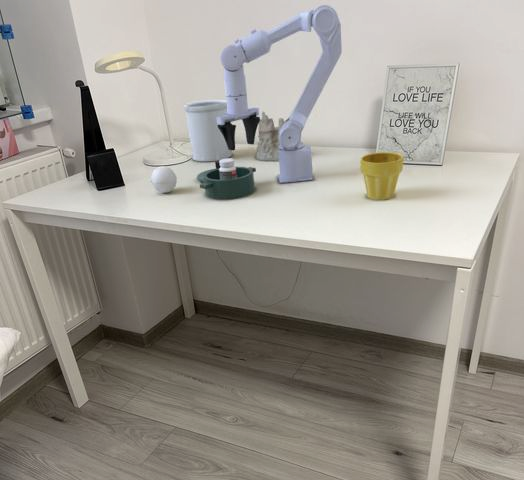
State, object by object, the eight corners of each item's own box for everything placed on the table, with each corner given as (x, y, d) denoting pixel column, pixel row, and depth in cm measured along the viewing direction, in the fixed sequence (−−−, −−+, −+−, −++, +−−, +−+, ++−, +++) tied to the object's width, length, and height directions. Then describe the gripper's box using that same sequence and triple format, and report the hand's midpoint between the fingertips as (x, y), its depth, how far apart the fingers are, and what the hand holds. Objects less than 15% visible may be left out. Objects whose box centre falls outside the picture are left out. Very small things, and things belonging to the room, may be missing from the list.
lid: (187, 180, 166) (184, 164, 164) (222, 168, 175) (220, 153, 172) (219, 187, 157) (217, 170, 154) (255, 174, 166) (253, 158, 163)
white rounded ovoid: (163, 187, 162) (159, 162, 158) (183, 189, 158) (179, 163, 154) (142, 197, 155) (136, 171, 151) (162, 200, 151) (157, 173, 147)
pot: (188, 197, 151) (185, 178, 148) (238, 179, 162) (236, 162, 159) (221, 205, 143) (219, 186, 140) (271, 186, 154) (269, 167, 151)
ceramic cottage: (293, 161, 175) (290, 110, 167) (248, 161, 181) (243, 113, 174) (310, 152, 187) (308, 104, 179) (267, 152, 193) (264, 107, 186)
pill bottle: (236, 193, 150) (232, 162, 145) (219, 193, 151) (216, 162, 146) (240, 187, 154) (237, 157, 149) (224, 188, 155) (220, 158, 150)
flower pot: (376, 205, 133) (377, 164, 128) (351, 195, 141) (352, 157, 136) (409, 196, 136) (412, 156, 131) (383, 187, 144) (385, 149, 139)
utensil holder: (197, 152, 197) (189, 100, 187) (237, 150, 194) (231, 97, 185) (186, 163, 184) (178, 108, 175) (229, 161, 182) (223, 105, 173)
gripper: (245, 90, 154) (249, 140, 161) (206, 99, 146) (213, 151, 153) (262, 91, 150) (266, 142, 157) (224, 100, 141) (230, 153, 149)
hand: (241, 146), depth 155 cm, fingers open, 7 cm apart
